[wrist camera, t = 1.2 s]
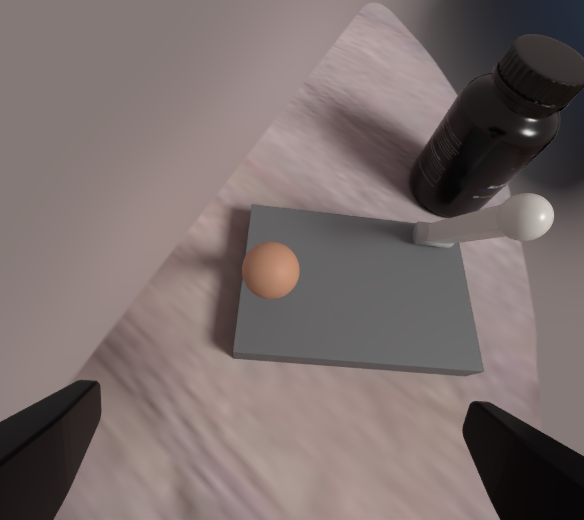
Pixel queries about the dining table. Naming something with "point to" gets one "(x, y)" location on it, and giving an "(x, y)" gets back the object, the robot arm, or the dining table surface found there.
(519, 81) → the supplement bottle
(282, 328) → the switch panel
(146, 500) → the dining table surface
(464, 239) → the pale grey lever
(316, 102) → the dining table surface
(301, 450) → the dining table surface
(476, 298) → the dining table surface
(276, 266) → the terracotta lever
